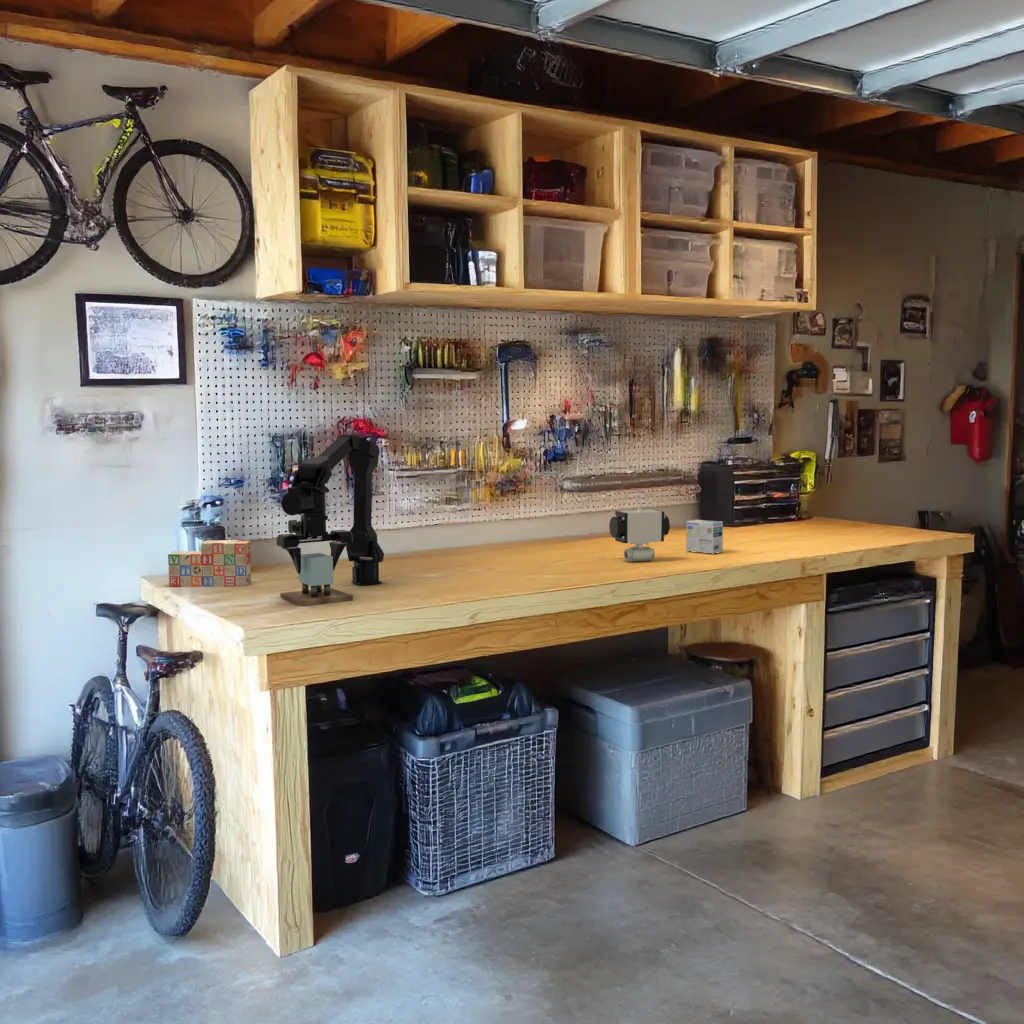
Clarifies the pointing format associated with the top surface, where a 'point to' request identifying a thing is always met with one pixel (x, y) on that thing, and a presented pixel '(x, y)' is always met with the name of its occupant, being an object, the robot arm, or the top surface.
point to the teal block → (316, 569)
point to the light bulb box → (704, 536)
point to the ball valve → (639, 531)
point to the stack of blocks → (212, 565)
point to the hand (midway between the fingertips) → (315, 571)
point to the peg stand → (316, 595)
